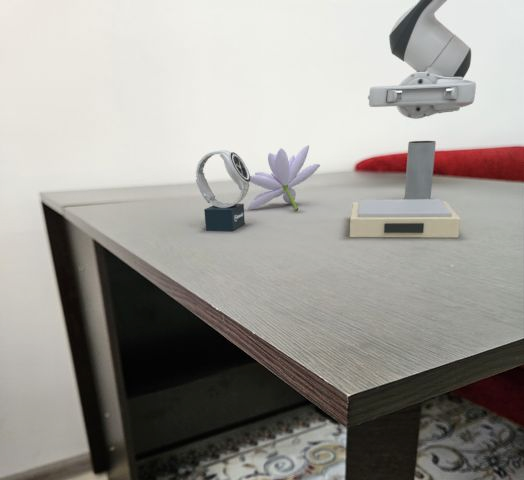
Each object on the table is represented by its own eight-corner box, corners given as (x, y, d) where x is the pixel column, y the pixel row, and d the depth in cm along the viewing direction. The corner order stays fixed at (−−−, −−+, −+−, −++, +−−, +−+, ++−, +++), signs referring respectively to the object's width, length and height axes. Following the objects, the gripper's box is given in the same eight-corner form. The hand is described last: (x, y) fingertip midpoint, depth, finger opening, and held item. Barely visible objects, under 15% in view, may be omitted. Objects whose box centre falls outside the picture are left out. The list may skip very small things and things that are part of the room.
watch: (245, 231, 77) (241, 151, 72) (195, 230, 79) (188, 153, 75) (256, 224, 82) (253, 149, 77) (209, 223, 84) (203, 150, 79)
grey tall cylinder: (429, 204, 92) (434, 142, 88) (402, 204, 93) (407, 142, 89) (431, 200, 96) (436, 140, 91) (405, 200, 97) (410, 141, 93)
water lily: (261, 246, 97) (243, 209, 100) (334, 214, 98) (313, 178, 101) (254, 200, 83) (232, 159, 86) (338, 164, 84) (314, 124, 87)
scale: (444, 218, 80) (446, 198, 79) (458, 238, 68) (461, 214, 66) (352, 218, 83) (353, 198, 82) (349, 237, 70) (350, 215, 69)
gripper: (368, 81, 111) (368, 78, 98) (470, 76, 107) (482, 72, 95) (367, 113, 113) (366, 114, 101) (466, 110, 110) (478, 110, 97)
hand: (423, 94), depth 98 cm, fingers open, 8 cm apart
